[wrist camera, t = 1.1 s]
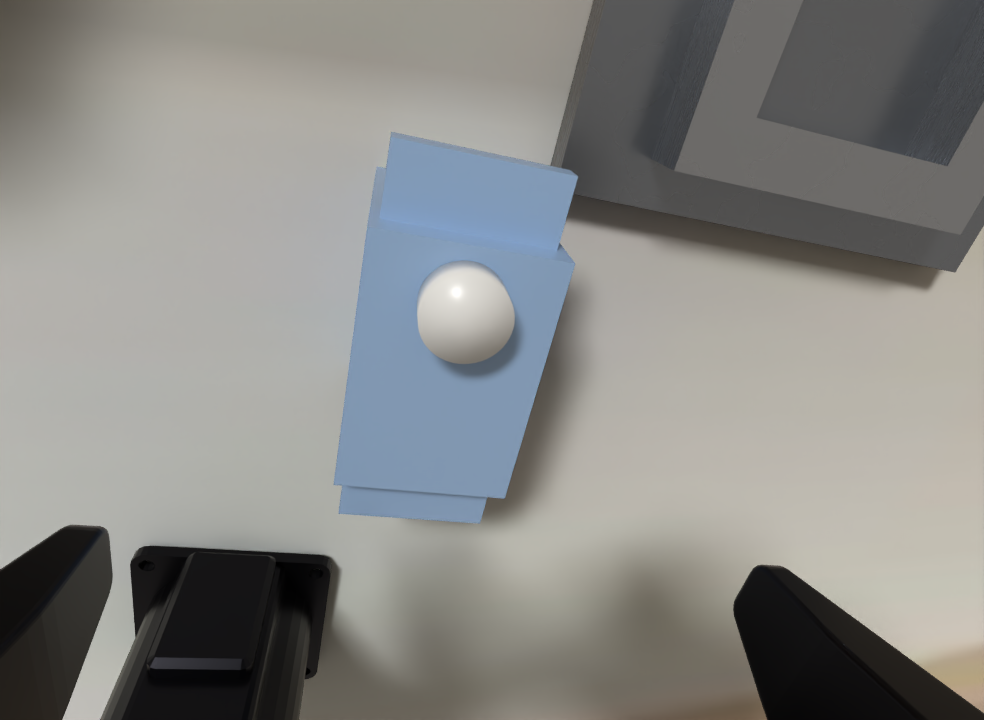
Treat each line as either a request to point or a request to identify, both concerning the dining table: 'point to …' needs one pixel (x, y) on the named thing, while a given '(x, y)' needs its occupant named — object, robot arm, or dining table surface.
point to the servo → (450, 328)
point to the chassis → (788, 119)
